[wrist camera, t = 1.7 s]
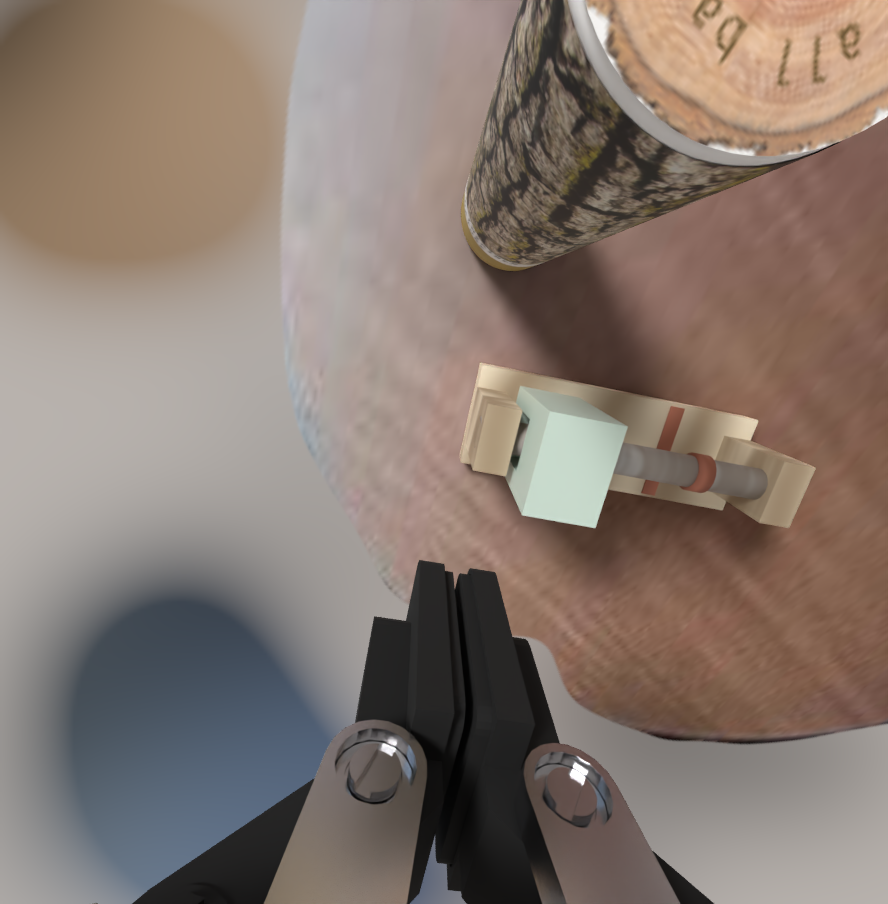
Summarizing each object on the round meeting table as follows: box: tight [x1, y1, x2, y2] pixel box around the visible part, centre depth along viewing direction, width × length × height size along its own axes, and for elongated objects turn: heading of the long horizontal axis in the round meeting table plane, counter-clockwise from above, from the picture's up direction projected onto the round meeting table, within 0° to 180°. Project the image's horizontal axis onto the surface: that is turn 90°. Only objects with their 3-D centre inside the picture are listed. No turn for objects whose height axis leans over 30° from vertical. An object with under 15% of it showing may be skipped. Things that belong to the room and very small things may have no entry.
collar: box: [505, 386, 628, 528], centre depth 28 cm, size 4×6×8 cm
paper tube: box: [461, 0, 888, 271], centre depth 19 cm, size 7×7×25 cm
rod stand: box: [460, 362, 816, 528], centre depth 31 cm, size 20×7×8 cm, turn 79°
